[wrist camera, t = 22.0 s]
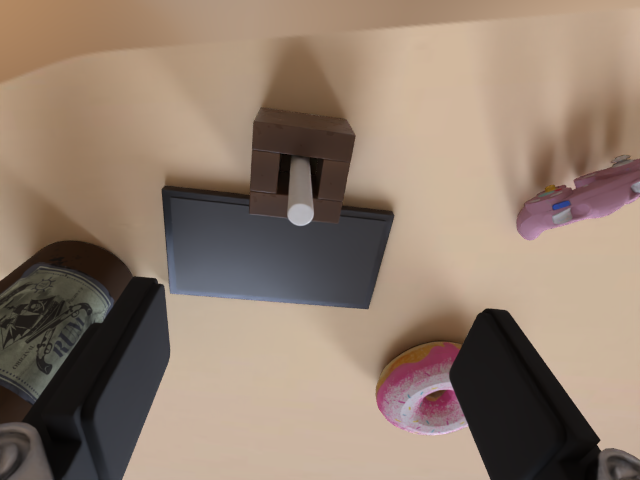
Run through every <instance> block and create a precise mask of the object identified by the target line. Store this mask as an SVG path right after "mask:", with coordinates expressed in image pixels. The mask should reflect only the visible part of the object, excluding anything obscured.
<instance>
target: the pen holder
mask: <svg viewBox="0 0 640 480" xmlns="http://www.w3.org/2000/svg"><path fill="white" fill-rule="evenodd" d="M355 136H356V135H355V133H354V132H353V130H352V128H351V126H350V124H349V122H348V121H347V120H346V119H339V118H332V117H325V116H318V115H311V114H304V113H297V112H290V111H283V110H276V109H269V108H262V107H261V108H260V110H259V112H258V114H257V116H256V118H255V120H254V123H253V142H252V149H253V150H252V162H251V181H250V201H249V214H251V215H261V216H270V217H279V218H288V215H287V212H288V197H289V182H290V172H282V171H280V163H281V153H283V154H290V155H298V156H306V157H314V158H317V165H316V172H315V176H314V175H311V186H312V198H313V211H314V216H313V219H312V220H311V221H316V222H326V223H335V224H338V223H339V218H340V213H341V208H342V203H343V202H342V201H343V198H344V193H345V188H346V182H347V177H348V172H349V167H350V162H351V157H352V152H353V147H354V141H355Z"/></svg>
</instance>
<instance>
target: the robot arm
mask: <svg viewBox="0 0 640 480" xmlns="http://www.w3.org/2000/svg"><path fill="white" fill-rule="evenodd" d="M169 358H170V342H169V331H168V321H167V310H166V299H165V289H164V285H163V284H158V281H157V279H155V278H146V277H133V278H132V279H131V280H130V282H129V283H128V285H127V286H126V288H125V289H124V291H123V292H122V294H121V295H120V297H119V298H118V300H117V301H116V303H115V304H114V305H113V307H112V308H111V310H110V311H109V313H108V314H107V316H106V317H105V319H104V320H103V322H102V323H93V324H91V325H90V326H89V327H88V328H87V330H86V331H85V332H84V334H83V335H82V337H81V338H80V339H79V341H78V342H77V344H76V345H75V347H74V348H73V349H72V351H71V352H70V354H69V355H68V356H67V358H66V359H65V361H64V362H63V364H62V365H61V366H60V368H59V369H58V371H57V372H56V373H55V375H54V376H53V378H52V379H51V381H50V382H49V383H48V385H47V386H46V388H45V389H44V390H43V392H42V393H41V395H40V396H39V397H38V399H37V400H36V402H35V403H34V405H33V406H32V407H31V409H30V410H29V412H28V413H27V414H26V416H25V417H24V419H23V420H22V422H11V423H4V424H0V480H122V478H123V476H124V473H125V471H126V468H127V466H128V463H129V461H130V458H131V456H132V453H133V450H134V448H135V445H136V443H137V440H138V438H139V435H140V433H141V430H142V428H143V425H144V423H145V420H146V418H147V415H148V413H149V410H150V408H151V405H152V402H153V400H154V397H155V395H156V392H157V390H158V387H159V385H160V382H161V380H162V377H163V375H164V372H165V370H166V367H167V365H168V362H169ZM449 379H450V383H451V385H452V387H453V390H454V392H455V395H456V397H457V399H458V402H459V404H460V407H461V409H462V412H463V414H464V416H465V419H466V421H467V424H468V426H469V429H470V431H471V433H472V436H473V438H474V441H475V443H476V445H477V448H478V450H479V453H480V455H481V458H482V460H483V462H484V465H485V467H486V470H487V472H488V474H489V477H490V479H491V480H640V460H639V459H638V458H636V457H635V456H633V455H631V454H629V453H627V452H625V451H622V450H618V449H614V448H609V449H605V450H603V451H602V452H601V450H600V449H599V447H598V446H597V444H598V443H599V442H600V439H599V437H598V436H597V435H596V433H595V432H594V430H593V429H592V428H591V426H590V425H589V423H588V422H587V421H586V419H585V418H584V416H583V415H582V414H581V412H580V411H579V409H578V408H577V407H576V405H575V404H574V403H573V401H572V400H571V398H570V397H569V396H568V394H567V393H566V391H565V390H564V389H563V387H562V386H561V384H560V383H559V382H558V380H557V379H556V377H555V376H554V375H553V373H552V372H551V370H550V369H549V368H548V366H547V365H546V363H545V362H544V361H543V359H542V358H541V356H540V355H539V354H538V352H537V351H536V349H535V348H534V347H533V345H532V344H531V343H530V341H529V340H528V338H527V337H526V336H525V334H524V333H523V331H522V330H521V329H520V327H519V326H518V324H517V323H516V322H515V320H514V319H513V317H512V316H511V315H510V313H509V312H508V311H506V310H499V309H485V310H484V311H483V312H482V313H479V314H478V315H477V317H476V319H475V321H474V323H473V325H472V327H471V329H470V331H469V333H468V335H467V337H466V339H465V341H464V343H463V345H462V347H461V349H460V351H459V353H458V355H457V356H456V358H455V360H454V362H453V364H452V366H451V368H450V371H449Z"/></svg>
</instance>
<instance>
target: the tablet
mask: <svg viewBox="0 0 640 480" xmlns="http://www.w3.org/2000/svg"><path fill="white" fill-rule="evenodd" d="M162 200H163V212H164V225H165V237H166V250H167V262H168V275H169V287H170V293H171V294H184V295H196V296H209V297H221V298H234V299H246V300H259V301H271V302H284V303H296V304H309V305H321V306H334V307H346V308H359V309H369V305H370V302H371V298H372V294H373V291H374V287H375V284H376V280H377V276H378V273H379V269H380V266H381V262H382V258H383V255H384V251H385V248H386V244H387V241H388V237H389V233H390V230H391V226H392V223H393V219H394V214H393V212H392V211H384V210H376V209H367V208H358V207H349V206H342V208H341V213H340V218H339V223H338V224H335V223H326V222H316V221H311V222H309V223H308V224H306V225H303V226H298V225H295V224H293V223H292V222H291V221H290V220H289V219H288V218H279V217H270V216H261V215H251V214H249V201H250V195H244V194H235V193H226V192H218V191H209V190H200V189H191V188H182V187H174V186H164V187H163V188H162Z"/></svg>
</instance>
